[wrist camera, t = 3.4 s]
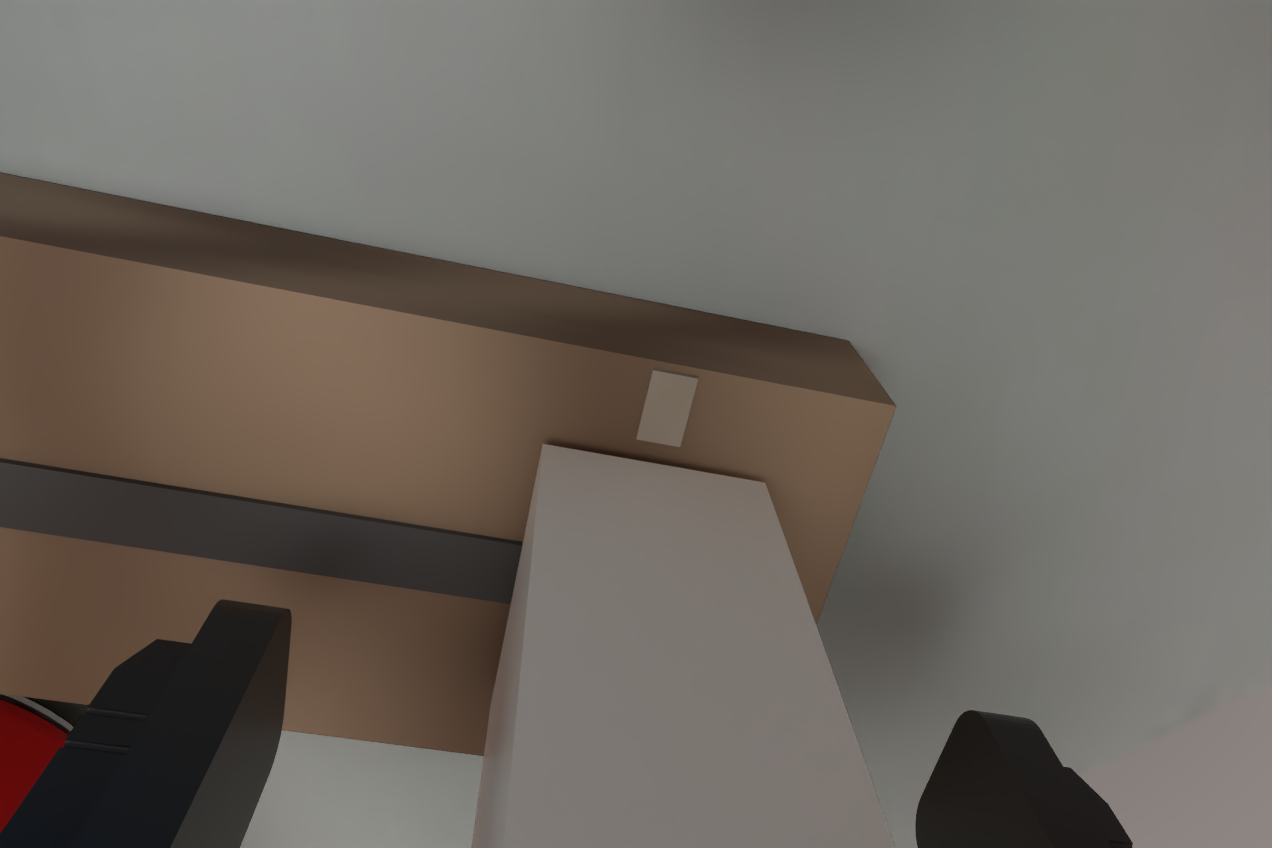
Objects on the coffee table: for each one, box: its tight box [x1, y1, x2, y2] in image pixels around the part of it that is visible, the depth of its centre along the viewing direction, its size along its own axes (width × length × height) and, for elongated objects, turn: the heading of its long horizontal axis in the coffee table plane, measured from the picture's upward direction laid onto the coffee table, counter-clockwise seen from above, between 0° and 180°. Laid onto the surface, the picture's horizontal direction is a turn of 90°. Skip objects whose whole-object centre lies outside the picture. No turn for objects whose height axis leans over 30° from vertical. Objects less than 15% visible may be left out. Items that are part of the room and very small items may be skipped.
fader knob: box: [472, 444, 895, 848], centre depth 10 cm, size 3×4×8 cm
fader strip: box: [0, 173, 896, 756], centre depth 14 cm, size 20×7×3 cm, turn 78°
